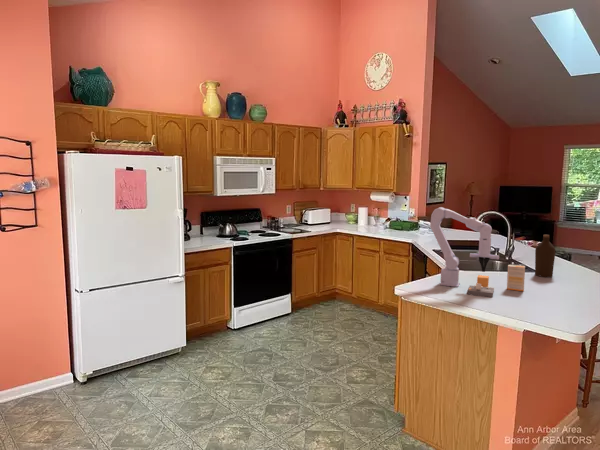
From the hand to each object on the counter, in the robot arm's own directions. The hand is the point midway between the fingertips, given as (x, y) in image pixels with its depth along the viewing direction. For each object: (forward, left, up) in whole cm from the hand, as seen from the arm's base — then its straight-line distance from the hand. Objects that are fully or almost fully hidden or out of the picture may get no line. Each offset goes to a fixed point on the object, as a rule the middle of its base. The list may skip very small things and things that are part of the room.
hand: (483, 271), depth 234 cm
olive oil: (+31, +48, -10) cm, 58 cm away
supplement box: (+16, +5, -10) cm, 19 cm away
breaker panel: (0, -11, -9) cm, 14 cm away
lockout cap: (0, +2, -9) cm, 10 cm away
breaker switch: (-1, -12, -7) cm, 14 cm away
